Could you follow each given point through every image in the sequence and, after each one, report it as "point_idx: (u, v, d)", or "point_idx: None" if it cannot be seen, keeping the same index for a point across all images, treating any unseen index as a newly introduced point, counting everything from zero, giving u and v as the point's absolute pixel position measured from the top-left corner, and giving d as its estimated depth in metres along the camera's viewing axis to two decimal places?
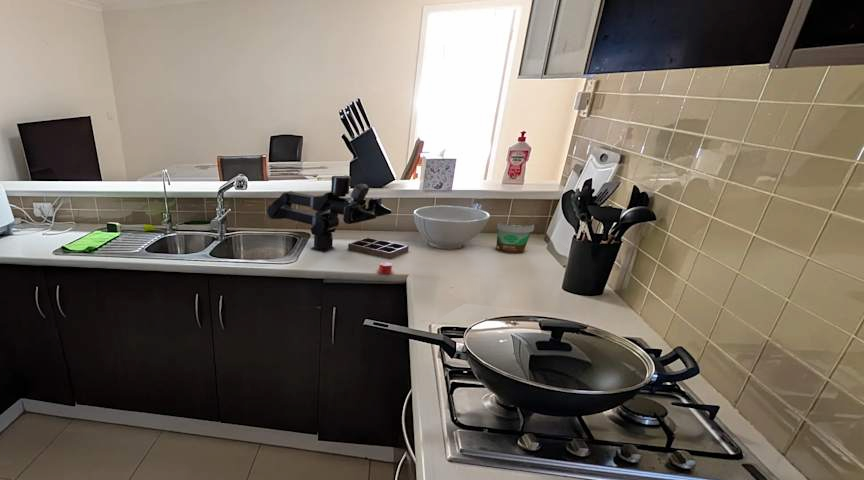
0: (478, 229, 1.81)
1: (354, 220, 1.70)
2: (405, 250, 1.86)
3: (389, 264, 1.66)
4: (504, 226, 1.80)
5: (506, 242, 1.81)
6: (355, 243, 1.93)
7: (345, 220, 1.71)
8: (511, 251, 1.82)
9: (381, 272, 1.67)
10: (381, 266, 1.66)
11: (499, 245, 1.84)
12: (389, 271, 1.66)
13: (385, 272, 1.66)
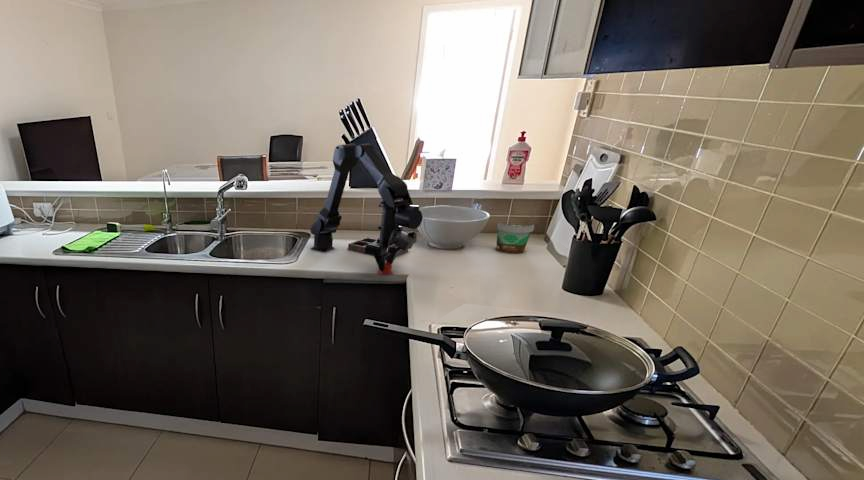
0: (478, 229, 1.81)
1: None
2: None
3: (389, 264, 1.66)
4: (504, 226, 1.80)
5: (506, 242, 1.81)
6: (355, 243, 1.93)
7: (366, 248, 1.59)
8: (511, 251, 1.82)
9: (381, 272, 1.67)
10: None
11: (499, 245, 1.84)
12: (389, 271, 1.66)
13: (385, 272, 1.66)
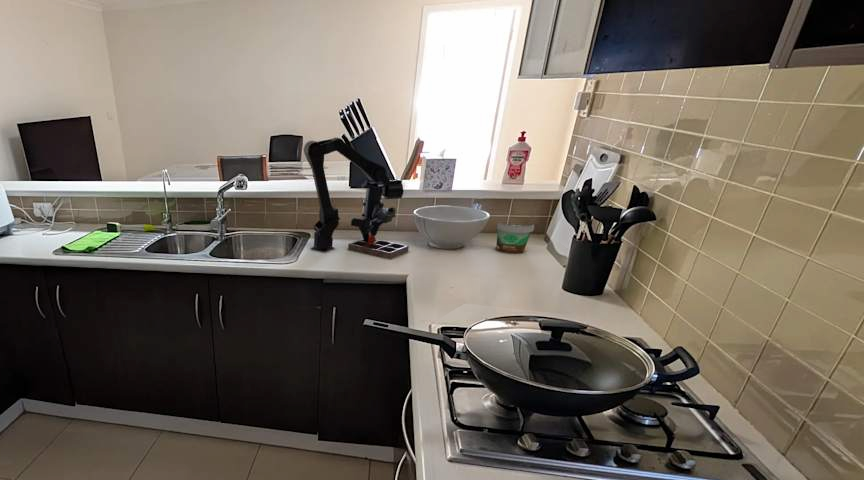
0: (478, 229, 1.81)
1: None
2: (405, 250, 1.86)
3: (373, 236, 1.93)
4: (504, 226, 1.80)
5: (506, 242, 1.81)
6: (355, 243, 1.93)
7: (352, 222, 1.86)
8: (511, 251, 1.82)
9: None
10: None
11: (499, 245, 1.84)
12: None
13: None
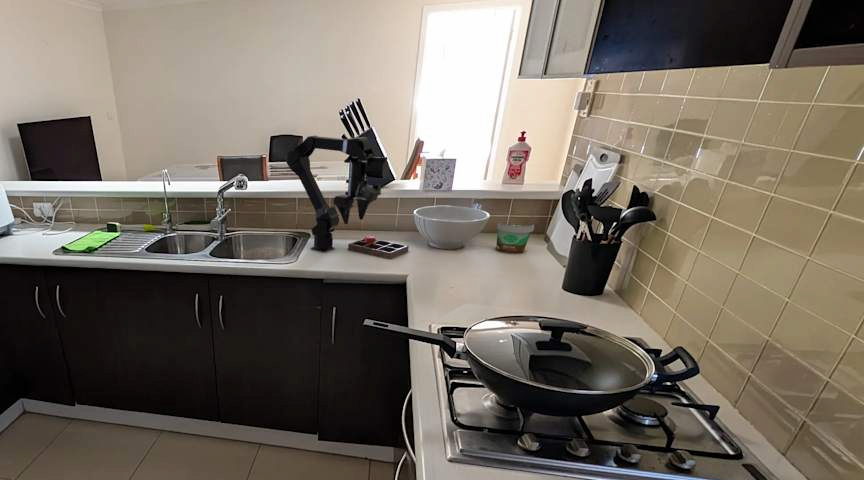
0: (478, 229, 1.81)
1: None
2: (405, 250, 1.86)
3: (373, 237, 1.93)
4: (504, 226, 1.80)
5: (506, 242, 1.81)
6: (355, 243, 1.93)
7: (335, 200, 1.73)
8: (511, 251, 1.82)
9: None
10: (366, 238, 1.93)
11: (499, 245, 1.84)
12: None
13: None
